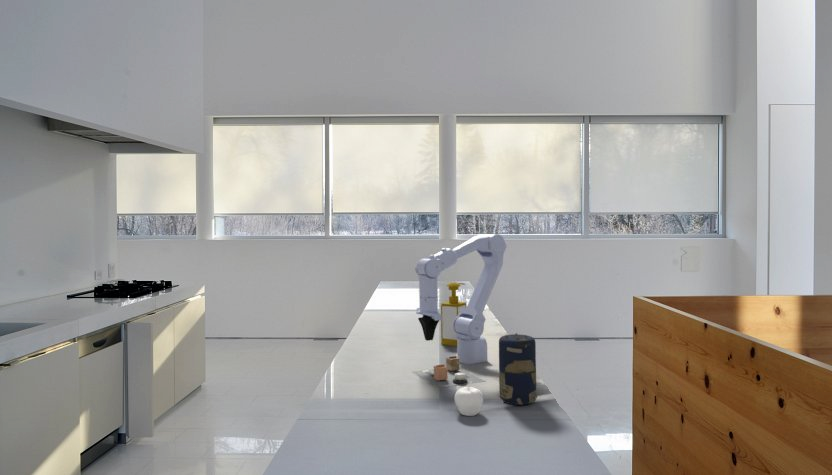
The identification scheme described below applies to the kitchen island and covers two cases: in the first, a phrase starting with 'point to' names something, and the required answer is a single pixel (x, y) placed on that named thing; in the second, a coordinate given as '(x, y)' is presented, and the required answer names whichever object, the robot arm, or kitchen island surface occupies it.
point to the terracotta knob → (440, 372)
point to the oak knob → (452, 363)
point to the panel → (451, 381)
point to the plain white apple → (469, 400)
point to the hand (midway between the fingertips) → (429, 340)
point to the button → (459, 376)
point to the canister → (517, 369)
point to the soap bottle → (450, 316)
